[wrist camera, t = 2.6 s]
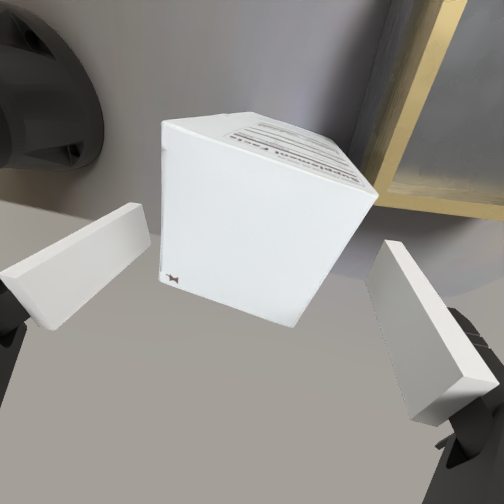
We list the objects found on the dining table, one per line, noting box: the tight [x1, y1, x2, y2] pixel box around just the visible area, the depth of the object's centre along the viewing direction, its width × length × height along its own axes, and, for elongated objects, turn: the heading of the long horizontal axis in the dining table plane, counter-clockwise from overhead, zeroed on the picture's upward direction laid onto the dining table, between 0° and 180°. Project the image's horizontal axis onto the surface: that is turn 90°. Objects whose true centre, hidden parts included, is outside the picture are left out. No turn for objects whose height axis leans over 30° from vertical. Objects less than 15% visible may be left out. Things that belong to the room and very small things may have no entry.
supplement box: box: [158, 112, 379, 328], centre depth 18 cm, size 10×9×17 cm
